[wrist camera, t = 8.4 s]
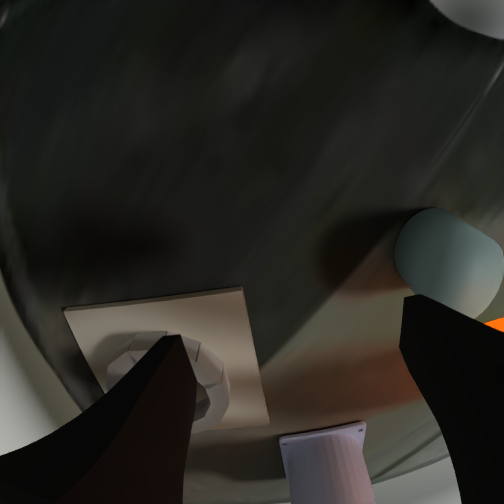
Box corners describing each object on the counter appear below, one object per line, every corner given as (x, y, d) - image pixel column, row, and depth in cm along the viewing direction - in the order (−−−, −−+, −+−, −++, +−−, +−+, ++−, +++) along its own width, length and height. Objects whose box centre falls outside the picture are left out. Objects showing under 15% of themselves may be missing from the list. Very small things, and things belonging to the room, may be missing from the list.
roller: (467, 258, 19) (507, 292, 14) (408, 298, 20) (440, 342, 15) (448, 192, 17) (497, 218, 12) (381, 236, 18) (418, 274, 14)
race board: (269, 419, 24) (270, 443, 22) (129, 424, 25) (122, 445, 22) (241, 286, 19) (241, 308, 17) (66, 307, 20) (50, 326, 18)
